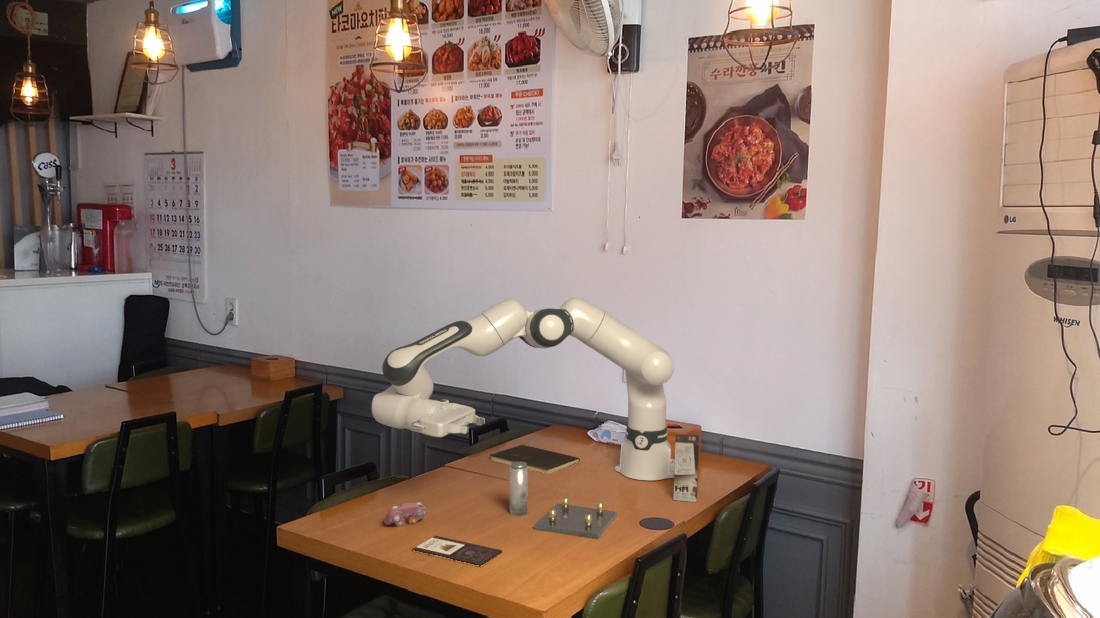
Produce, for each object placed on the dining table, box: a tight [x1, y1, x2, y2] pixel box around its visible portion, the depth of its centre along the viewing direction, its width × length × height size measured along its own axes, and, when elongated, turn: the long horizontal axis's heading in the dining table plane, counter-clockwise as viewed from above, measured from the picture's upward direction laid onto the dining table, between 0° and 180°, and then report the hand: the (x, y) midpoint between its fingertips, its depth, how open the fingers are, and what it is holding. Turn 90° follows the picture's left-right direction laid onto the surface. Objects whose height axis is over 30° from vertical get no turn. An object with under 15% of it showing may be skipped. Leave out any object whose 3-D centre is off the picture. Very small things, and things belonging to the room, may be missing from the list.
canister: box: [509, 461, 529, 517], centre depth 207 cm, size 5×5×13 cm
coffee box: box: [672, 434, 700, 503], centre depth 220 cm, size 9×6×16 cm
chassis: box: [533, 496, 618, 540], centre depth 200 cm, size 16×16×4 cm
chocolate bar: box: [411, 535, 503, 566], centre depth 182 cm, size 9×1×18 cm
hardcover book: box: [489, 444, 581, 475], centre depth 252 cm, size 16×23×2 cm
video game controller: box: [383, 501, 428, 527], centre depth 198 cm, size 10×5×7 cm, turn 118°
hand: (475, 425), depth 208 cm, fingers open, 8 cm apart
